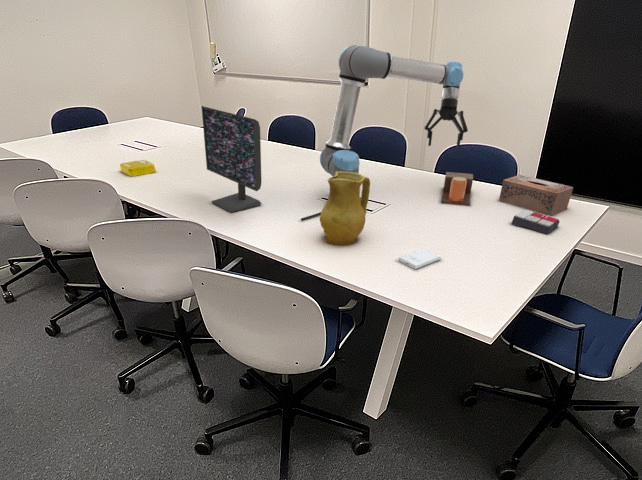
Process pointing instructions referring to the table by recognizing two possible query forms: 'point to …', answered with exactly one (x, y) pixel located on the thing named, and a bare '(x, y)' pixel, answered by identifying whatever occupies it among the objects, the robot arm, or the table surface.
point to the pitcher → (345, 208)
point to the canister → (457, 189)
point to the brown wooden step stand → (447, 186)
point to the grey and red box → (535, 221)
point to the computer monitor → (233, 154)
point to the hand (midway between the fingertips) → (443, 146)
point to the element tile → (137, 168)
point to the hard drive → (419, 258)
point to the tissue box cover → (535, 194)
